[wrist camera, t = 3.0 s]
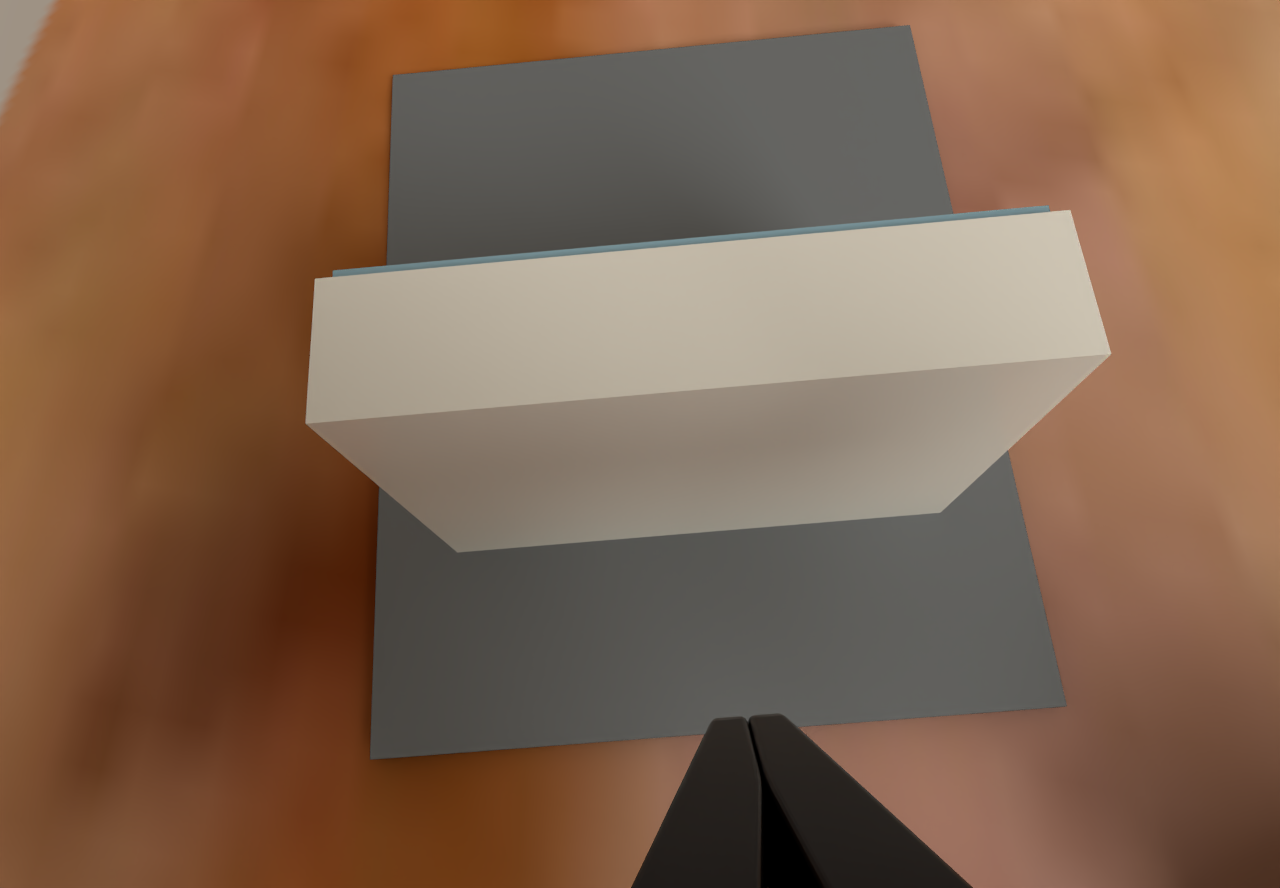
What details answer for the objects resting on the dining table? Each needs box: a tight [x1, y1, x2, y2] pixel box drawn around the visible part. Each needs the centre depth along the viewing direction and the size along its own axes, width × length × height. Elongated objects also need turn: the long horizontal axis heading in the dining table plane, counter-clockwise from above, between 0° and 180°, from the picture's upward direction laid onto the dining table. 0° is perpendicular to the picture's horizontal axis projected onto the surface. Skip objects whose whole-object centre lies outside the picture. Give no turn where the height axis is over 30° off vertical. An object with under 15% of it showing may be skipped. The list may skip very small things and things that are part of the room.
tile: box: [305, 205, 1111, 553], centre depth 17 cm, size 3×12×9 cm, turn 94°
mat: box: [370, 25, 1067, 759], centre depth 23 cm, size 20×16×1 cm
